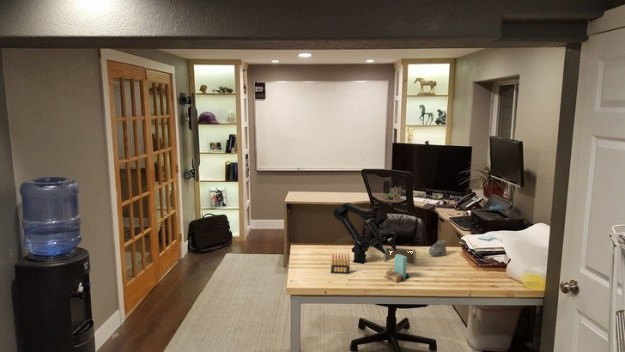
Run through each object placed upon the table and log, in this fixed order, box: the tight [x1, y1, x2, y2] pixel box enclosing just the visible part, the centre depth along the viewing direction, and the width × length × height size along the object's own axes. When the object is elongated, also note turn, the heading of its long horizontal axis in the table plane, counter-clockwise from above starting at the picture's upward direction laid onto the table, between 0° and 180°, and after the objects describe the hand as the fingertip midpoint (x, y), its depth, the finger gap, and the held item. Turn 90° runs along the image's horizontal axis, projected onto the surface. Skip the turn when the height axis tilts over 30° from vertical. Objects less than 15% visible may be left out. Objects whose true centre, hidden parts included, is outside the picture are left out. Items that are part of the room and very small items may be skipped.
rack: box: [383, 272, 411, 284], centre depth 239 cm, size 10×11×3 cm
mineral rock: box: [428, 239, 447, 257], centre depth 278 cm, size 13×11×10 cm
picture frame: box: [383, 246, 417, 266], centre depth 274 cm, size 19×2×30 cm
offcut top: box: [385, 269, 402, 278], centre depth 236 cm, size 8×4×1 cm, turn 40°
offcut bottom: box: [384, 275, 401, 283], centre depth 237 cm, size 8×4×1 cm, turn 40°
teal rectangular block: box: [393, 254, 408, 278], centre depth 240 cm, size 6×3×12 cm, turn 40°
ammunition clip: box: [330, 252, 351, 275], centre depth 246 cm, size 11×2×12 cm, turn 85°
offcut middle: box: [384, 272, 401, 280], centre depth 237 cm, size 8×4×1 cm, turn 40°
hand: (390, 252), depth 244 cm, fingers open, 9 cm apart
